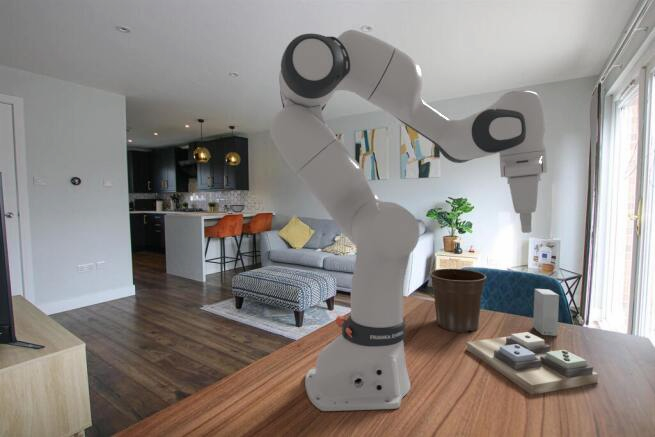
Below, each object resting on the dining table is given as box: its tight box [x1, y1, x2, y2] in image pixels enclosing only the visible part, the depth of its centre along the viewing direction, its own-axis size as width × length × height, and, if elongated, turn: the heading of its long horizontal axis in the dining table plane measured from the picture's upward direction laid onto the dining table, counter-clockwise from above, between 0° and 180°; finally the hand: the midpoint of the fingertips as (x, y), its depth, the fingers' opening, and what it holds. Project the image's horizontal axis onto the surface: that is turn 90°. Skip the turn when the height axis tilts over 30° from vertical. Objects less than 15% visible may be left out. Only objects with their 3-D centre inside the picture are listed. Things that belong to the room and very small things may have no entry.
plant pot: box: [429, 268, 487, 333], centre depth 100 cm, size 16×16×16 cm
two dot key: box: [500, 344, 535, 363], centre depth 74 cm, size 5×5×2 cm
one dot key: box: [510, 331, 546, 348], centre depth 80 cm, size 5×5×2 cm
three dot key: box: [546, 349, 587, 370], centre depth 71 cm, size 5×5×2 cm
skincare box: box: [532, 288, 560, 337], centre depth 94 cm, size 6×4×12 cm
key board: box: [466, 335, 599, 396], centre depth 76 cm, size 17×20×4 cm
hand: (526, 228), depth 72 cm, fingers open, 8 cm apart
